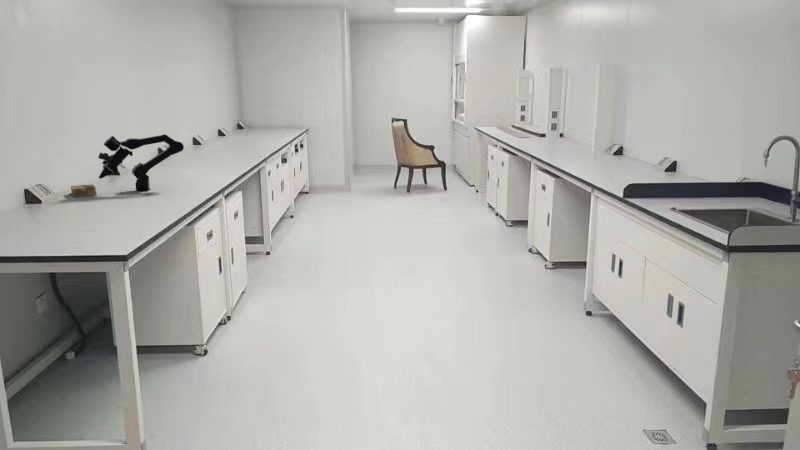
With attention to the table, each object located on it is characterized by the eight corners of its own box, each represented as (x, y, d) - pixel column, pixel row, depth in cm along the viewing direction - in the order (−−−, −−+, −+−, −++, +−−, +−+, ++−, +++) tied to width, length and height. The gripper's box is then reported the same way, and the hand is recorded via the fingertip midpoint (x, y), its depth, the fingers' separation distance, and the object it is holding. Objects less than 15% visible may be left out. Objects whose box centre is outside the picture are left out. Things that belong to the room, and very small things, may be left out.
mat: (91, 192, 348) (91, 191, 348) (95, 195, 336) (95, 195, 336) (69, 193, 342) (69, 193, 342) (72, 197, 331) (72, 196, 331)
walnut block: (92, 184, 347) (70, 185, 341) (95, 187, 337) (73, 189, 331) (93, 191, 347) (71, 193, 342) (96, 194, 338) (73, 196, 332)
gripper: (104, 145, 349) (84, 166, 346) (109, 148, 334) (88, 170, 330) (120, 158, 355) (101, 179, 352) (126, 162, 339) (106, 184, 336)
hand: (99, 178), depth 342 cm, fingers closed
